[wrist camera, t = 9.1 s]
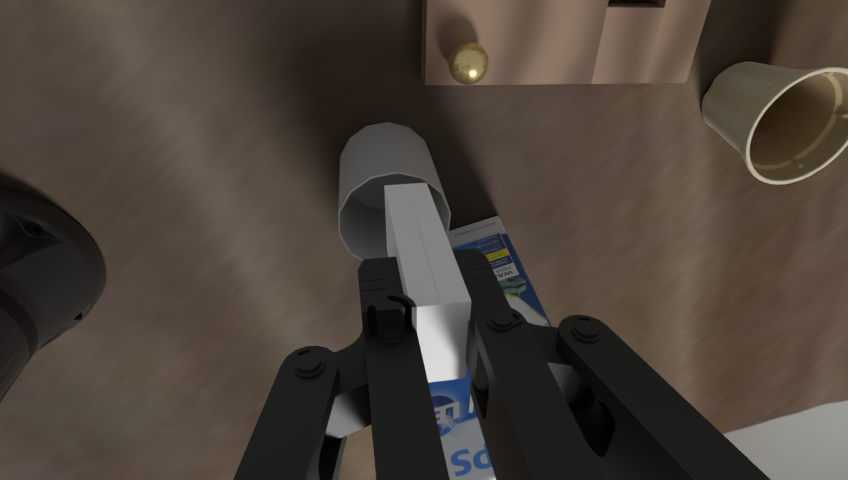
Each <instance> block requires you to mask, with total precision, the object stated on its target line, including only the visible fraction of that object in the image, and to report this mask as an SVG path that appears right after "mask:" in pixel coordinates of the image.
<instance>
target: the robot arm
mask: <svg viewBox="0 0 848 480" xmlns="http://www.w3.org/2000/svg"><path fill="white" fill-rule="evenodd" d="M384 191H385V215H386V239H387V253H388V257H384V258H372V259H364V260H363V262H362V263H361V265H360V267H359V269H358V277H359V289H360V301H361V313H362V324H363V329H362V333H361V335H360V337H359V338H358V339H357V340H356V341H355V342H354V343H353V344H351V345H350V346H348V347H346V348H344V349H342V350H340V351H337V352H332V351H331V350H329V349H327V348H325V347H320V346H307V347H303V348H301V349H298V350H295V351H294V352H293V353H291V354H290V355H288V356H287V357H286V359H285V360H284V362H283V363H282V364H281V367H280V369H279V372H278V374H277V376H276V379H275V381H274V384H273V386H272V388H271V391H270V393H269V396H268V398H267V400H266V403H265V405H264V408H263V410H262V412H261V415H260V417H259V419H258V422H257V424H256V427H255V429H254V431H253V434H252V436H251V439H250V441H249V443H248V446H247V448H246V451H245V453H244V455H243V458H242V460H241V463H240V465H239V467H238V470H237V472H236V475H235V477H234V479H233V480H337V478H338V474H339V469H340V465H341V461H342V456H343V452H344V448H345V444H346V439H347V435H349V434H351V433H353V432H355V431H358V430H360V429H362V428H364V427H366V426H368V425H372V436H373V447H374V458H375V469H376V480H450V478H449V474H448V469H447V465H446V460H445V456H444V451H443V447H442V442H441V438H440V433H439V429H438V424H437V420H436V415H435V411H434V406H433V402H432V397H431V393H430V388H429V384H428V383H430V382H437V381H445V380H453V379H461V378H466V367H468V371H469V374H470V377H471V382H470V394H469V413H471V412H473V405H474V408H475V411H476V414H477V418H478V421H479V424H480V428H481V431H482V434H483V438H484V441H485V444H486V448H487V451H488V454H489V458H490V461H491V464H492V468H493V471H494V474H495V478H496V480H770V479H769V478H768V477H767V476H766V475H765V474H764V473H763V472H762V471H761V470H760V469H758V467H756V466H755V465H754V464H753V463H752V462H751V461H750V460H749V459H748V458H747V457H746V456H745V455H744V454H743V453H742V452H741V451H739V450H738V449H737V448H736V447H735V446H734V445H733V444H732V443H731V442H730V441H729V440H728V439H727V438H726V437H725V436H724V435H722V434H721V433H720V432H719V431H718V430H717V429H716V428H715V427H714V426H713V425H712V424H711V423H710V422H709V421H708V420H707V419H705V418H704V417H703V416H702V415H701V414H700V413H699V412H698V411H697V410H696V409H695V408H694V407H693V406H692V405H691V404H690V403H688V402H687V401H686V400H685V399H684V398H683V397H682V396H681V395H680V394H679V393H678V392H677V391H676V390H675V389H674V388H673V387H671V386H670V385H669V384H668V383H667V382H666V381H665V380H664V379H663V378H662V377H661V376H660V375H659V374H658V373H657V372H656V371H654V370H653V369H652V368H651V367H650V366H649V365H648V364H647V363H646V362H645V361H644V360H643V359H642V358H641V357H640V356H639V355H637V354H636V353H635V352H634V351H633V350H632V349H631V348H630V347H629V346H628V345H627V344H626V343H625V342H624V341H623V340H622V339H620V338H619V337H618V336H617V335H616V334H615V333H614V332H613V331H612V330H611V329H610V328H609V327H608V326H607V325H605V324H604V323H602V322H601V321H600V320H598V319H595V318H592V317H590V316H584V315H573V316H569V317H567V318H565V319H563V320H562V321H561V323H560V325H559V327H558V328H556V327H548V326H540V325H536V324H532V323H529V322H527V321H526V319H525V318H524V316H523V315H522V314H521V313H520V312H518V311H517V310H515V309H513V308H511V307H510V305H509V303H508V301H507V299H506V297H505V294H504V292H503V290H502V288H501V286H500V284H499V282H498V280H497V278H496V275H495V273H494V271H493V269H492V267H491V265H490V263H489V261H488V259H487V257H486V256H485V255H484V254H483V253H481V252H480V251H479V250H478V249H476V248H472V249H461V250H452V249H451V246H450V243H449V241H448V238H447V235H446V233H445V230H444V228H443V225H442V222H441V220H440V217H439V214H438V212H437V209H436V206H435V204H434V201H433V199H432V196H431V193H430V191H429V188H428V185H427V183H413V184H399V185H384ZM105 281H106V269H105V264H104V260H103V257H102V255H101V253H100V251H99V249H98V247H97V245H96V244H95V242H94V241H93V240H92V238H91V237H90V236H89V235H88V233H87V232H86V231H85V230H84V229H83V228H82V227H81V226H80V225H79V224H78V223H77V222H75V221H74V220H73V219H72V218H70V217H69V216H68V215H66V214H65V213H63V212H62V211H60V210H59V209H57V208H55V207H54V206H52V205H50V204H48V203H46V202H44V201H42V200H40V199H37V198H35V197H32V196H30V195H27V194H24V193H21V192H17V191H14V190H9V189H5V188H0V402H1V401H2V399H3V398H4V396H5V395H6V393H7V392H8V391H9V389H10V388H11V386H12V385H13V383H14V382H15V380H16V379H17V378H18V376H19V375H20V373H21V372H22V370H23V369H24V367H25V366H26V364H27V363H28V362H29V360H30V359H31V357H32V356H33V355H34V353H35V352H37V351H38V350H40V349H41V348H43V347H44V346H46V345H47V344H49V343H50V342H51V341H53V340H54V339H56V338H57V337H59V336H60V335H62V334H63V333H64V332H65V331H67V330H69V329H70V328H72V327H73V326H75V325H76V324H78V323H79V322H80V321H82V320H83V319H84V318H85V317H86V316H87V315H88V313H89V312H90V311H91V309H92V308H93V306H94V305H95V303H96V302H97V300H98V299H99V297H100V296H101V294H102V292H103V289H104V286H105Z"/></svg>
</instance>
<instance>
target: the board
mask: <svg viewBox="0 0 848 480" xmlns="http://www.w3.org/2000/svg"><path fill="white" fill-rule="evenodd" d="M608 2H609V0H423V14H422V59H421V78H422V80H423V82H424V84H425V86H433V85H464V84H461V83H459V82H457V81H456V80H455V79H454V78H453V77H452V76H451V74H450V72H449V68H448V61H449V57H450V54H451V52H452V51H453V50H454V48H455V47H457V46H458V45H460V44H462V43H465V42H473V43H476V44H478V45H480V46H481V47H482V48H483V49H484V50H485V51H486V53H487V55H488V60H489V66H488V70H487V73H486V74H485V76H484V77H483V78H482V79H481V80H480V81H479V82H477V83H475V84H471V85H525V84H617V83H686V80H687V77H688V74H689V71H690V67H691V64H692V61H693V58H694V54H695V51H696V48H697V45H698V42H699V38H700V35H701V32H702V29H703V26H704V22H705V19H706V16H707V13H708V9H709V6H710V3H711V0H648V3H608Z"/></svg>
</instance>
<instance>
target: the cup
mask: <svg viewBox="0 0 848 480" xmlns="http://www.w3.org/2000/svg"><path fill="white" fill-rule="evenodd" d="M413 183H427V185H428V188H429V191H430V193H431V196H432V199H433V201H434V204H435V206H436V209H437V212H438V214H439V217H440V220H441V222H442V225H443V228H444V230H445V233H446V235H447V236H448V233H449V225H450V217H451V212H450V209H449V206H448V203H447V200H446V197H445V194H444V192H443V189H442V186H441V183H440V180H439V177H438V174H437V171H436V169H435V166H434V163H433V160H432V157H431V155H430V152H429V150H428V147H427V145H426V143H425V140H423V139H422V138H421V137H420V136H419V135H418V134H416V133H415V132H414V131H413V130H412V129H411V128H409V127H406V126H402V125H399V124H395V123H391V122H385V123H379V124H374V125H368V126H366V127H364V128H363V129H362V130H360V131H359V132H357V133H356V134H355V135H353V136H352V137H350V138H349V140H348V142H347V144H346V146H345V148H344V150H343V152H342V153H341V155H340V174H339V204H338V231H339V236H340V238H341V240H342V241H343V243H344V245H345V246H346V248H347V250H348V251H349V253H350V254H351V255H353V256H354V257H356V258H357V259H359V260H361V261H362V262H363V260H364V259H372V258H384V257H388V253H387V239H386V215H385V191H384V185H399V184H413Z"/></svg>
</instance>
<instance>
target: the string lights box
mask: <svg viewBox="0 0 848 480" xmlns="http://www.w3.org/2000/svg"><path fill="white" fill-rule="evenodd" d="M447 238H448V241H449V243H450V246H451V249H452V250H461V249H472V248H476V249H478V250H479V251H480V252H481V253H483V254H484V255H485V256H486V257H487V259H488V261H489V263H490V265H491V267H492V269H493V271H494V273H495V275H496V278H497V280H498V282H499V284H500V286H501V288H502V290H503V292H504V294H505V297H506V299H507V301H508V303H509V305H510V307H511V308H513V309H515V310H517V311H518V312H520V313H521V314H522V315H523V316H524V318H525V319H526V321H527V322H529V323H532V324H536V325H540V326H548V327H552V326H551V324H550V322H549V320H548V318H547V316H546V314H545V312H544V310H543V308H542V306H541V304H540V302H539V299H538V297H537V295H536V293H535V291H534V289H533V287H532V285H531V283H530V281H529V279H528V277H527V275H526V273H525V270H524V268H523V266H522V264H521V262H520V260H519V258H518V256H517V254H516V252H515V249H514V247H513V245H512V243H511V241H510V239H509V237H508V235H507V233H506V231H505V229H504V227H503V225H502V222H501V220H500V218H499V216H495V217H491V218H488V219H485V220H482V221H479V222H476V223H472V224H469V225H466V226H463V227H460V228H456V229H453V230H450V231H449V233H448V236H447ZM470 382H471V377H470V374H469V371H468V367H466V378H461V379H453V380H445V381H437V382H430V383H428V384H429V388H430V393H431V397H432V402H433V406H434V411H435V415H436V420H437V424H438V429H439V433H440V438H441V442H442V447H443V451H444V456H445V460H446V465H447V469H448V474H449V478H450V480H496V478H495V474H494V471H493V468H492V464H491V461H490V458H489V454H488V451H487V448H486V444H485V441H484V438H483V434H482V431H481V428H480V424H479V421H478V418H477V414H476V411H475V408H474V405H473V412H471V413H469V394H470Z"/></svg>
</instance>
